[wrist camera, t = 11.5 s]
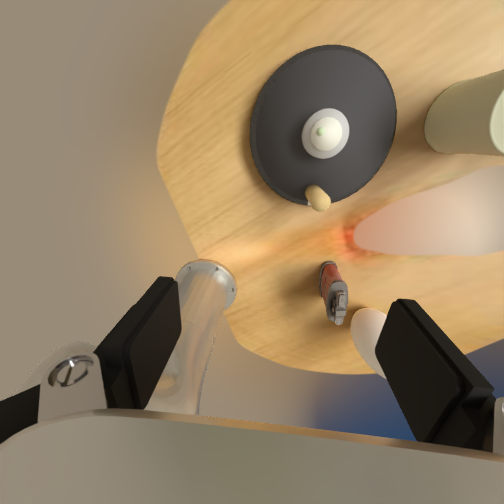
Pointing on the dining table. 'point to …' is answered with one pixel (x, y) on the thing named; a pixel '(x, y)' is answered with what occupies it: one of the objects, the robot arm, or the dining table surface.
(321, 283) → the lighter
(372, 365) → the sauce bottle
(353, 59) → the wheel
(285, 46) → the dining table surface
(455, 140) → the can
